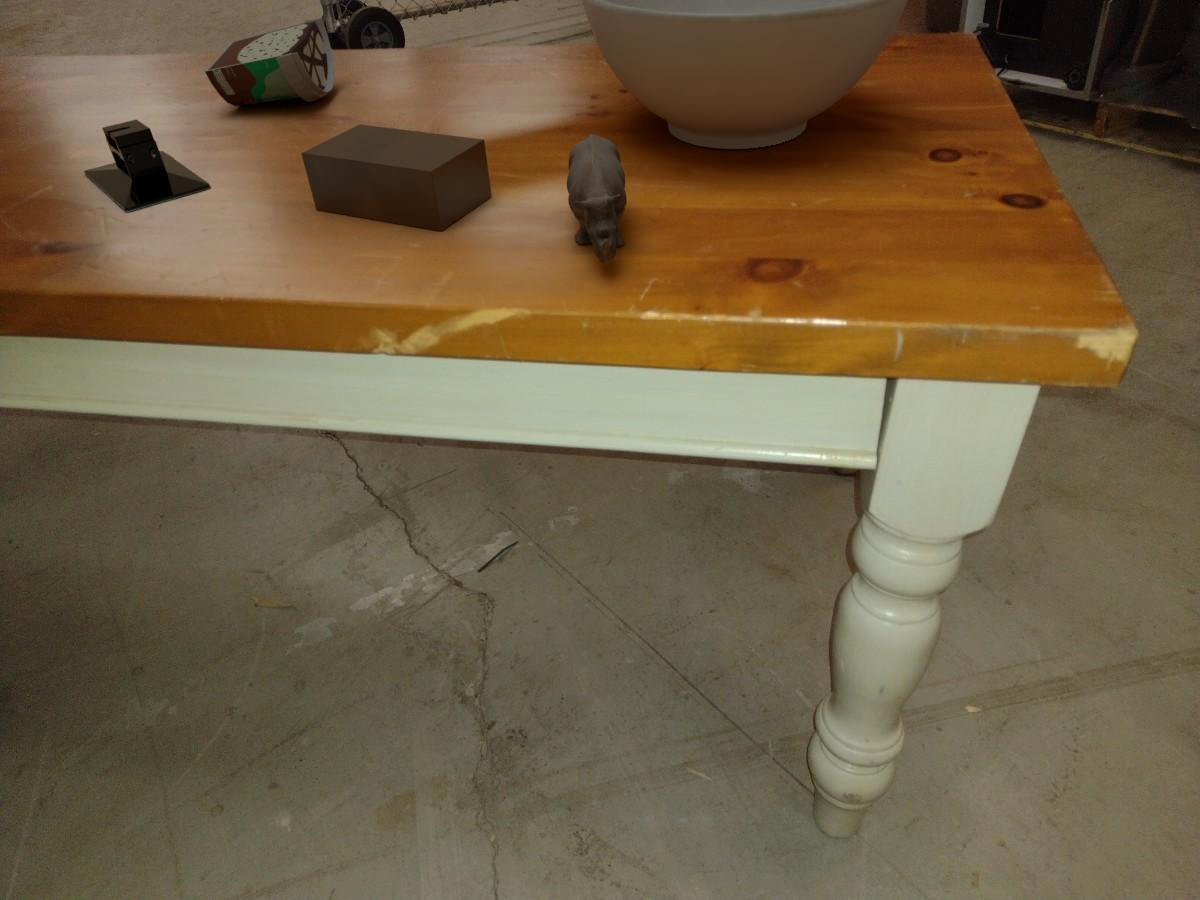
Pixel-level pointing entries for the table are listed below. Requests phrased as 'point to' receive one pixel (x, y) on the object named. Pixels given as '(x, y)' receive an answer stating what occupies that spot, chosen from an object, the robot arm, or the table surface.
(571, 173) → the rhino figurine
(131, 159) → the build plate
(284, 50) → the food container
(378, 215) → the walnut block
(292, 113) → the table surface
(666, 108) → the decorative bowl
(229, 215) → the table surface
